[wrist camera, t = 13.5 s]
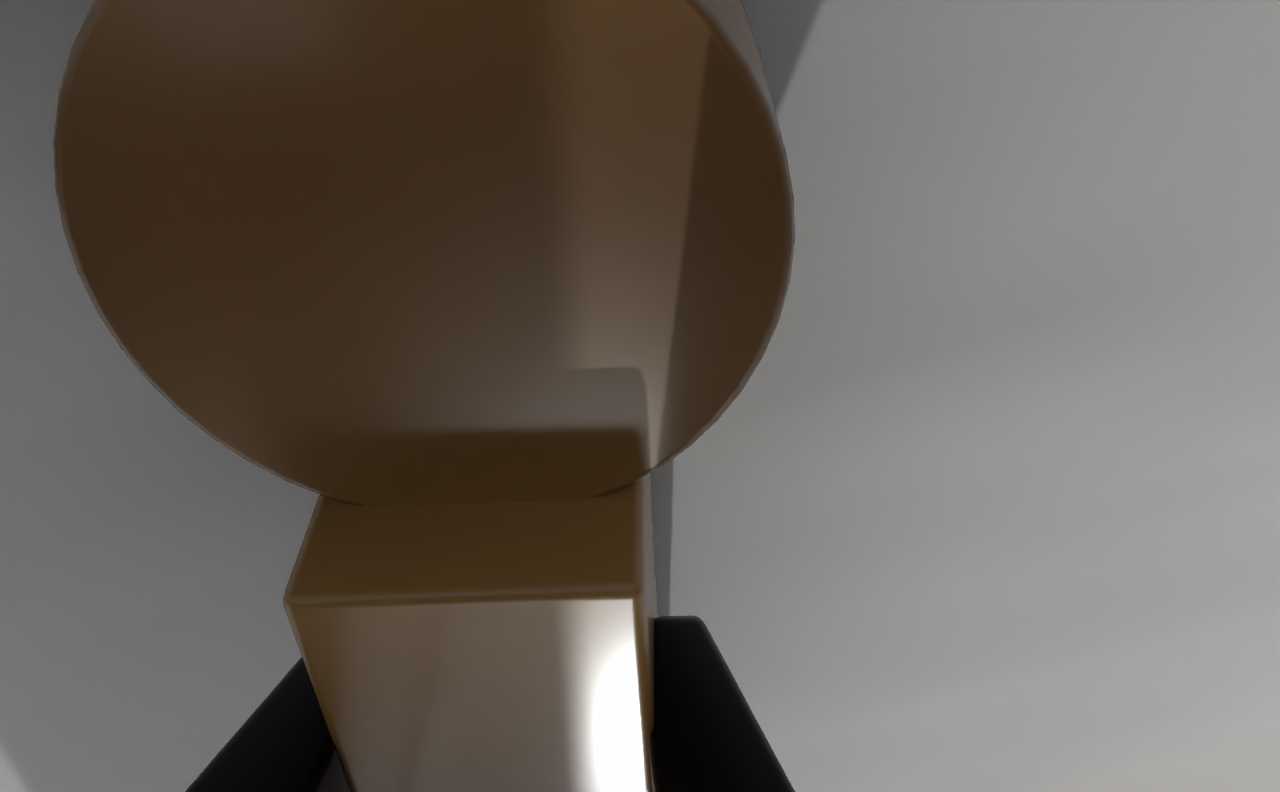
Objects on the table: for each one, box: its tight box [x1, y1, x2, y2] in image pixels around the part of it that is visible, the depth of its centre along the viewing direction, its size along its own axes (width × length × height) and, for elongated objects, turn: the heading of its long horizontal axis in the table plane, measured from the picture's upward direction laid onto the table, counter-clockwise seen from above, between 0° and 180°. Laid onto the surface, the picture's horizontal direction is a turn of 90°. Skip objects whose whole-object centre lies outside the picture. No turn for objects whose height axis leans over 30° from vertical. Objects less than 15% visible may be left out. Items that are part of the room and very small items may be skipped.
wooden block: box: [54, 0, 795, 792], centre depth 8 cm, size 10×4×2 cm, turn 3°
